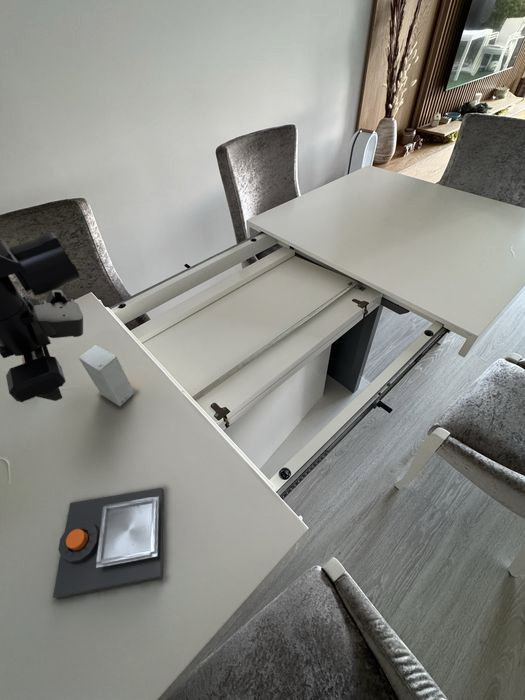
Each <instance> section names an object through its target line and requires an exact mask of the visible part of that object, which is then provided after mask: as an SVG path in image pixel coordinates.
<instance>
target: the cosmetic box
mask: <svg viewBox="0 0 525 700" xmlns="http://www.w3.org/2000/svg"><path fill="white" fill-rule="evenodd" d="M78 360H79V361H80V363H81V364H82V366H83V368H84V369H85V371H86V373H87V374H88V376H89V377H90V379H91V380H92V382H93V384H94V385H95V387H96V389H97V391H98V392H99V393H100V395H102V396H103V397H105V398H106V399H107V400H109V401H111V402H112V403H114V404H115V405H117V406H119V407H121V406H123V404H125V402H126V401H128V400H129V399H130V398H131V397H132V396H133V395H134V394H135V391H134V388H133V387H132V385H131V382H130V381H129V379H128V376H127V375H126V373H125V371H124V368H123V366H122V364H121V362H120V361H119V359H118V357H117V355H115V354H114V353H112V352H109V351H108V350H106V349H104V348H103V347H100V346H99V345H97V344H94V345H93V346H91V347H90V348H89V349H88V350H87V351H85V352H84V353H83V354H82V355H80V356H79V357H78Z"/></svg>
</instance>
